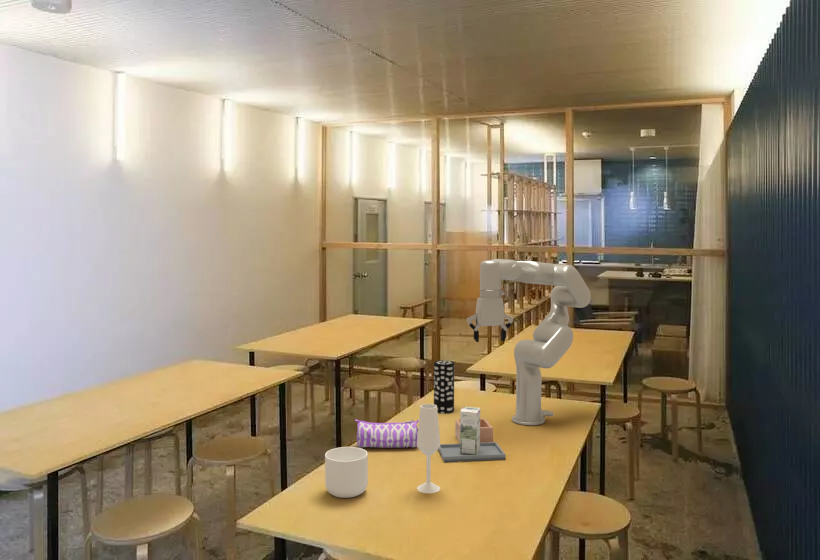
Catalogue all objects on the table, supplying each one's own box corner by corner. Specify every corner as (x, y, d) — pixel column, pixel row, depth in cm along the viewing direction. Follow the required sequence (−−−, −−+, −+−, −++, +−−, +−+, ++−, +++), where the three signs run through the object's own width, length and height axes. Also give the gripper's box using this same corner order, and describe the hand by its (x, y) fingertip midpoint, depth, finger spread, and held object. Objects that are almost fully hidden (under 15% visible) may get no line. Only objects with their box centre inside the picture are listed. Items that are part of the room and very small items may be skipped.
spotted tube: (452, 414, 257) (452, 365, 256) (432, 413, 259) (432, 364, 258) (455, 408, 266) (455, 360, 264) (435, 407, 267) (435, 360, 266)
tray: (496, 447, 218) (496, 442, 218) (505, 459, 206) (505, 454, 206) (438, 449, 216) (438, 444, 215) (444, 462, 204) (444, 456, 204)
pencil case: (418, 441, 224) (418, 415, 224) (421, 450, 215) (421, 423, 214) (355, 443, 222) (355, 416, 222) (355, 452, 213) (355, 424, 212)
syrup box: (480, 450, 213) (480, 407, 212) (476, 455, 207) (477, 411, 206) (463, 448, 214) (463, 405, 213) (459, 454, 209) (459, 410, 208)
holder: (485, 434, 231) (485, 418, 231) (492, 444, 220) (492, 427, 220) (455, 435, 230) (455, 419, 229) (461, 446, 219) (461, 428, 219)
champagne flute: (443, 491, 181) (443, 408, 179) (420, 494, 179) (420, 410, 177) (435, 482, 187) (436, 402, 185) (413, 485, 185) (413, 403, 183)
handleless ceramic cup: (340, 505, 172) (340, 464, 171) (317, 491, 181) (316, 452, 180) (376, 493, 180) (376, 454, 179) (351, 481, 189) (351, 443, 188)
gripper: (510, 293, 237) (510, 339, 238) (464, 293, 235) (464, 340, 236) (516, 295, 229) (515, 342, 231) (469, 295, 227) (468, 343, 229)
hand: (489, 341), depth 233 cm, fingers open, 9 cm apart
